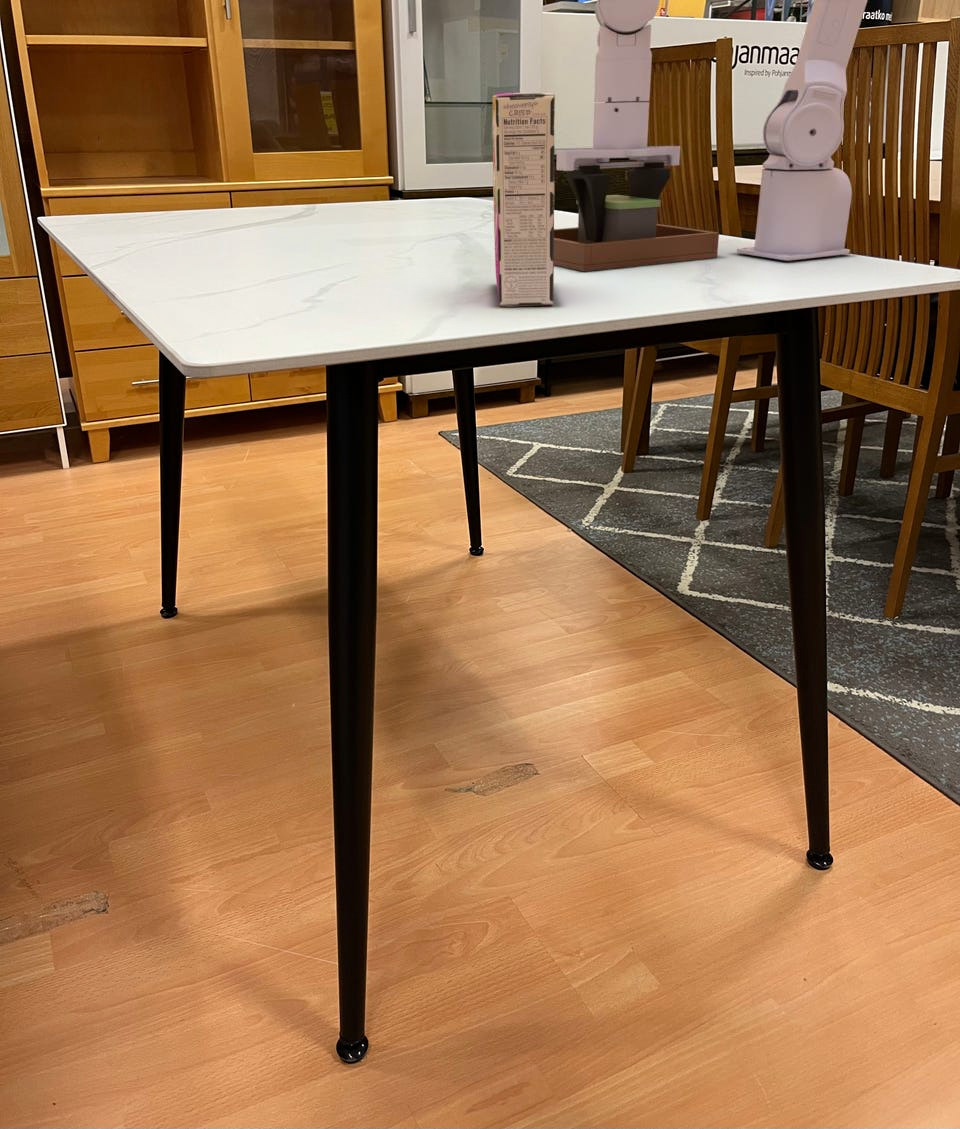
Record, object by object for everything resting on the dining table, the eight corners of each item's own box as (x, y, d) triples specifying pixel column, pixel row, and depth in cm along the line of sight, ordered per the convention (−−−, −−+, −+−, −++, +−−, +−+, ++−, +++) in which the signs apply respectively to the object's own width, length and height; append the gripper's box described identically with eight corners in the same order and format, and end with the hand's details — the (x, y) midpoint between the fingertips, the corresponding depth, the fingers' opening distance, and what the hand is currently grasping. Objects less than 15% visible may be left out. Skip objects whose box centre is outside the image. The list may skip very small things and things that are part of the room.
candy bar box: (493, 285, 91) (491, 93, 84) (545, 284, 91) (548, 92, 84) (495, 307, 81) (493, 91, 74) (554, 306, 81) (558, 90, 74)
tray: (641, 244, 116) (643, 221, 115) (717, 257, 105) (719, 232, 104) (516, 256, 109) (516, 232, 108) (583, 271, 98) (584, 245, 97)
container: (614, 245, 111) (616, 194, 109) (657, 253, 105) (661, 200, 102) (574, 248, 109) (576, 197, 107) (616, 257, 102) (618, 202, 100)
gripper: (583, 103, 94) (579, 247, 100) (701, 101, 100) (691, 237, 106) (547, 103, 100) (545, 240, 106) (661, 101, 106) (653, 231, 112)
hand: (616, 238), depth 106 cm, fingers closed on container, 5 cm apart
